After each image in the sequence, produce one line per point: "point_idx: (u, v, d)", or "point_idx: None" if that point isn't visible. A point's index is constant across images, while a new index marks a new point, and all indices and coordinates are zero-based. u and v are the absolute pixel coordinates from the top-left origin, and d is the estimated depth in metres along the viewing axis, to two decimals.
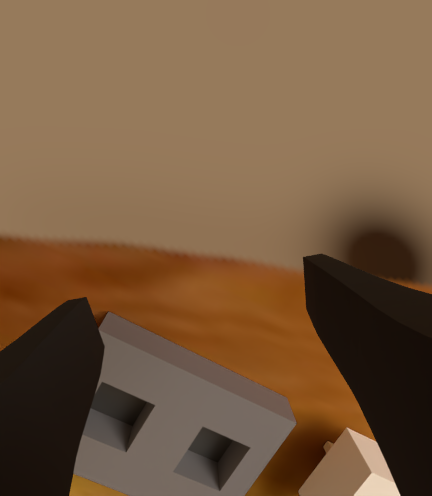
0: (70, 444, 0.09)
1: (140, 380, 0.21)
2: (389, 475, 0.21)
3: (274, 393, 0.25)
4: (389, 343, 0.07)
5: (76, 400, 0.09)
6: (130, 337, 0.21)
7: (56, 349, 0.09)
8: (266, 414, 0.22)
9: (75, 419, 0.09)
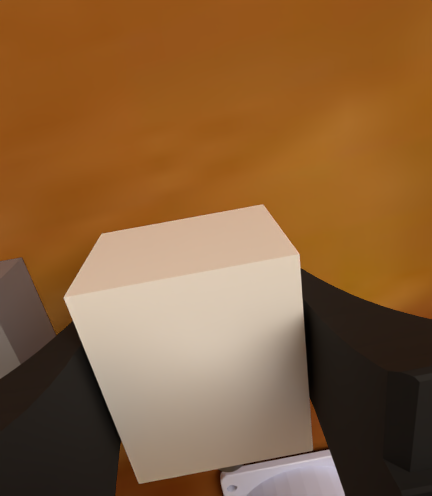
0: (114, 435, 0.09)
1: None
2: (146, 271, 0.07)
3: None
4: (331, 354, 0.07)
5: None
6: None
7: None
8: None
9: None
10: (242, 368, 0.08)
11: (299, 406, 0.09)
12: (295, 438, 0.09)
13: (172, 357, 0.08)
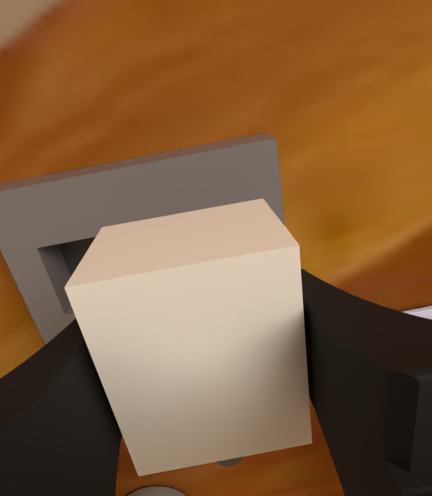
0: (114, 435, 0.09)
1: (68, 218, 0.17)
2: (146, 262, 0.07)
3: (244, 137, 0.18)
4: (331, 354, 0.07)
5: None
6: (23, 184, 0.17)
7: None
8: (231, 155, 0.16)
9: None
10: (242, 359, 0.08)
11: (298, 398, 0.09)
12: (294, 431, 0.09)
13: (171, 348, 0.08)
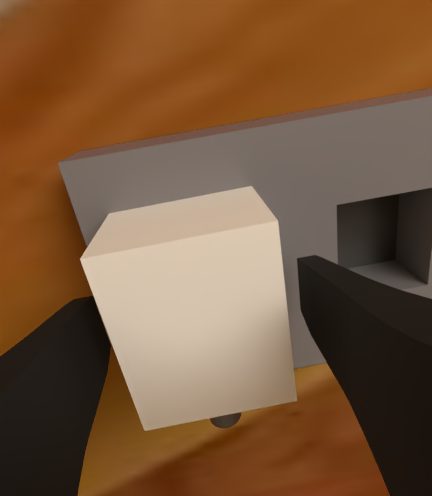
0: (78, 442, 0.09)
1: None
2: (148, 238, 0.09)
3: (420, 90, 0.13)
4: (379, 345, 0.07)
5: (84, 399, 0.09)
6: (123, 148, 0.11)
7: (64, 347, 0.09)
8: None
9: (83, 418, 0.09)
10: (232, 322, 0.09)
11: (283, 358, 0.10)
12: (281, 389, 0.10)
13: (171, 313, 0.09)
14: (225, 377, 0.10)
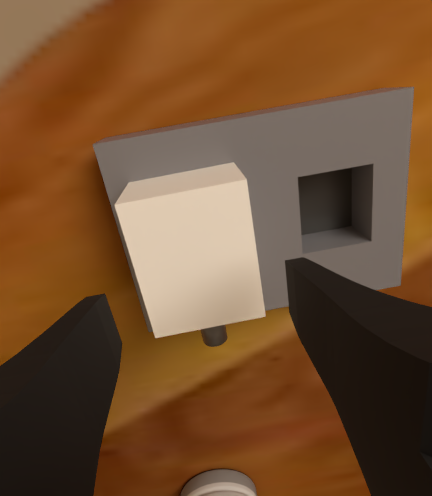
0: (94, 439, 0.09)
1: None
2: (160, 192, 0.13)
3: (363, 92, 0.17)
4: (359, 349, 0.07)
5: (98, 396, 0.09)
6: (139, 134, 0.15)
7: (79, 345, 0.09)
8: (365, 104, 0.15)
9: (97, 415, 0.09)
10: (217, 253, 0.13)
11: (254, 282, 0.14)
12: (253, 306, 0.15)
13: (175, 245, 0.13)
14: (213, 296, 0.14)
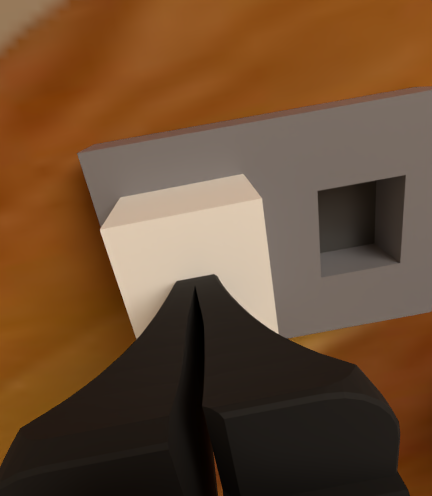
0: None
1: None
2: (155, 213, 0.10)
3: (392, 91, 0.15)
4: None
5: None
6: (132, 141, 0.13)
7: (193, 323, 0.09)
8: (399, 106, 0.13)
9: None
10: (225, 285, 0.11)
11: (269, 318, 0.12)
12: None
13: (174, 276, 0.11)
14: None
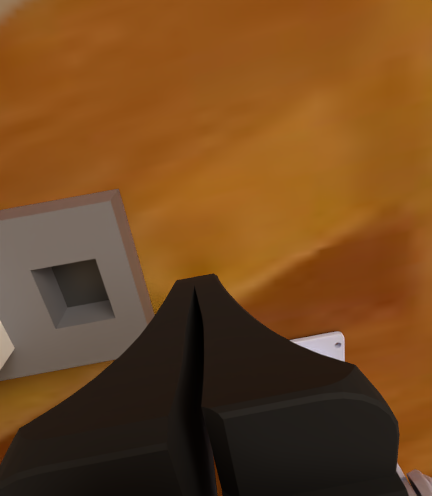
0: None
1: None
2: None
3: (98, 193, 0.20)
4: None
5: (204, 376, 0.09)
6: None
7: (193, 323, 0.09)
8: (71, 214, 0.18)
9: None
10: None
11: None
12: None
13: None
14: None
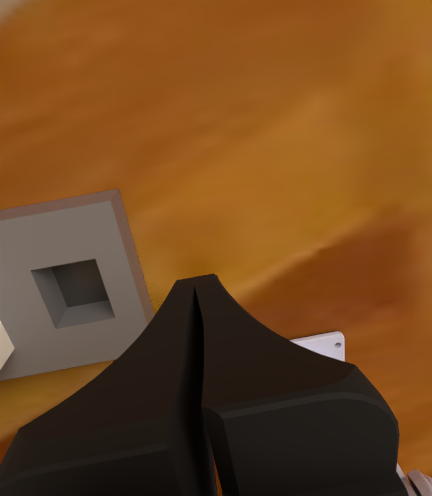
0: None
1: None
2: None
3: (98, 193, 0.20)
4: None
5: (204, 376, 0.09)
6: None
7: (193, 323, 0.09)
8: (71, 214, 0.18)
9: None
10: None
11: None
12: None
13: None
14: None
